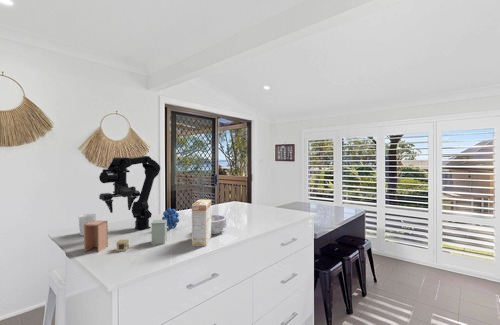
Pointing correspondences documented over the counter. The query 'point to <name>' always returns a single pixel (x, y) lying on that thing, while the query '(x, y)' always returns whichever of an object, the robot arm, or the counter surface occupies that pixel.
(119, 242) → the maple cube
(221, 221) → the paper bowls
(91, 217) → the white cup
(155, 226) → the sage canister
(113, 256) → the counter surface
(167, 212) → the grapes
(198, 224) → the coffeecake box
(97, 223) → the terracotta cover
